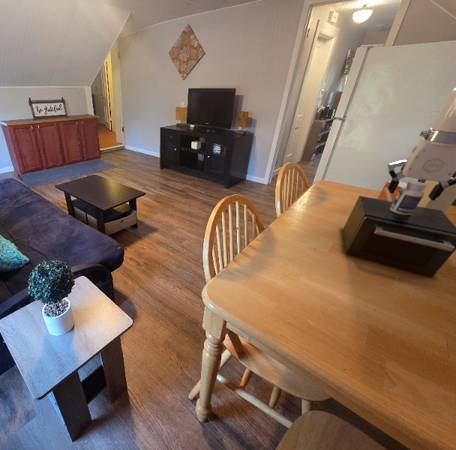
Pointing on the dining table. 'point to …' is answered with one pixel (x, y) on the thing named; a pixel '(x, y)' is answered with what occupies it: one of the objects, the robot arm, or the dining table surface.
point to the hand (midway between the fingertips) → (410, 195)
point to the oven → (394, 217)
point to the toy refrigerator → (440, 202)
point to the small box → (390, 196)
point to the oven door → (402, 245)
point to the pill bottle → (408, 198)
